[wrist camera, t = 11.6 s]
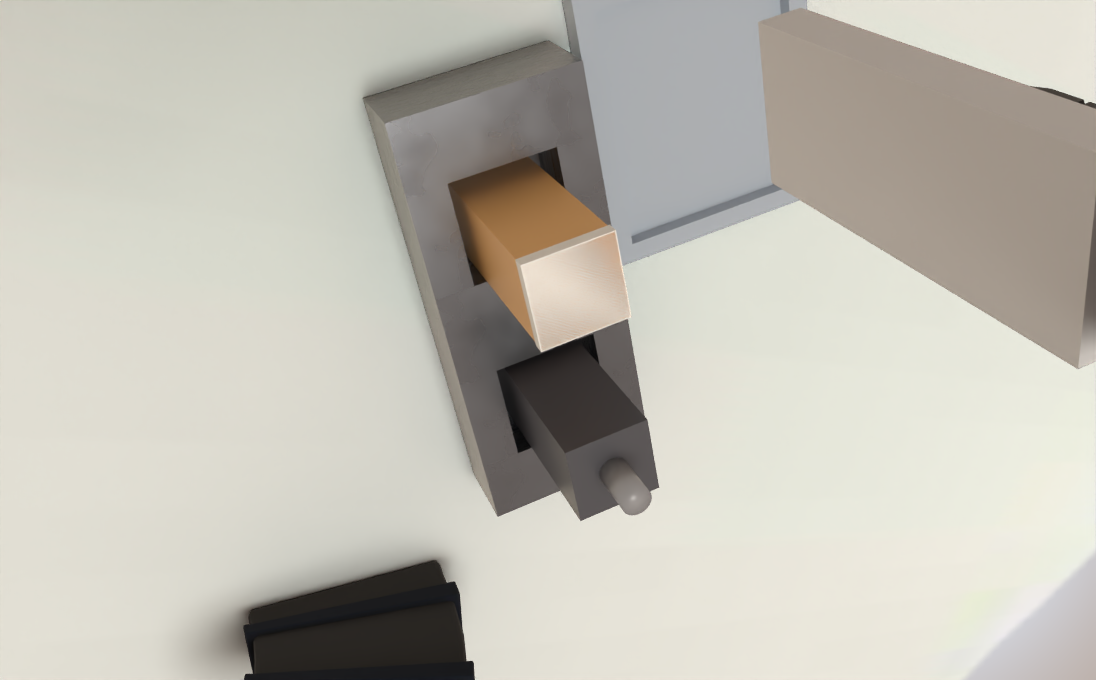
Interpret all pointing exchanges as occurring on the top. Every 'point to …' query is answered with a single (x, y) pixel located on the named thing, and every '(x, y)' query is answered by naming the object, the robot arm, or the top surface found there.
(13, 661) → the top surface
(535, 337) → the plug
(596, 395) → the twin plug
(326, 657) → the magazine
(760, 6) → the tray
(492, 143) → the slotted metal block
